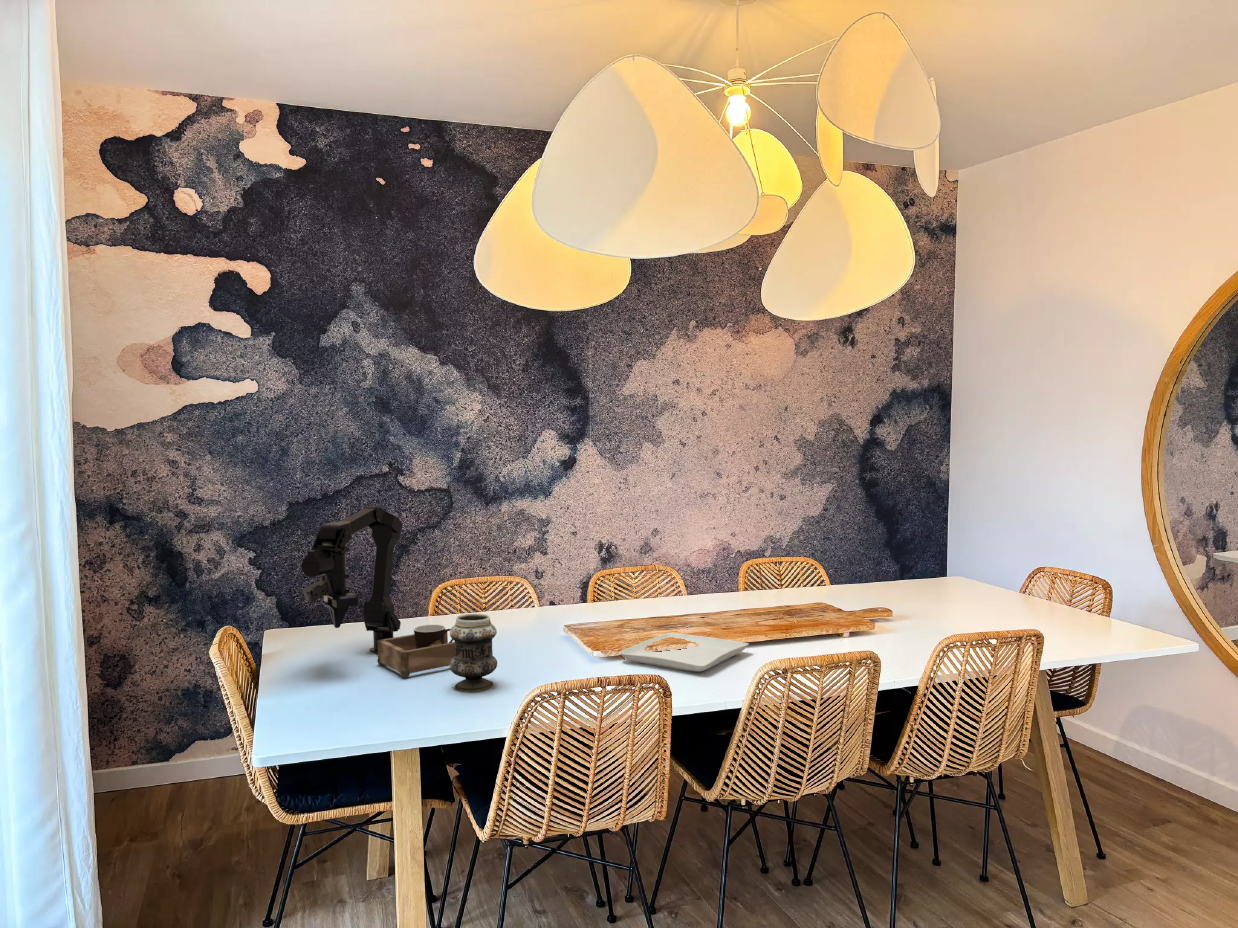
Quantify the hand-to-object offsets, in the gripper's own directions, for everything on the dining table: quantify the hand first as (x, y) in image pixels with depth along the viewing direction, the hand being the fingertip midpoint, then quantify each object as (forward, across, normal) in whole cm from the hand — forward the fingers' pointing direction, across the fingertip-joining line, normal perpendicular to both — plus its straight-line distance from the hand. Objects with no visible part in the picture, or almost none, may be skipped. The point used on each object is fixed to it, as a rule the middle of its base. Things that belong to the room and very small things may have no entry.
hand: (337, 627), depth 250 cm
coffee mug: (+12, +10, +24) cm, 29 cm away
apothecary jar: (+12, +36, +22) cm, 44 cm away
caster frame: (+12, +10, +22) cm, 27 cm away
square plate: (+13, +51, +80) cm, 96 cm away
